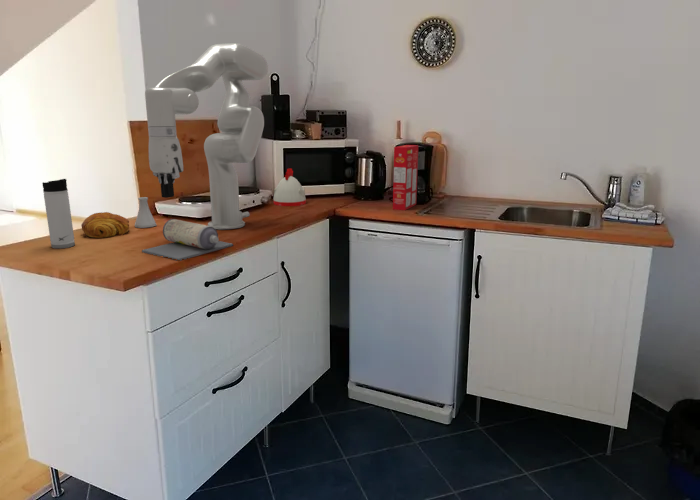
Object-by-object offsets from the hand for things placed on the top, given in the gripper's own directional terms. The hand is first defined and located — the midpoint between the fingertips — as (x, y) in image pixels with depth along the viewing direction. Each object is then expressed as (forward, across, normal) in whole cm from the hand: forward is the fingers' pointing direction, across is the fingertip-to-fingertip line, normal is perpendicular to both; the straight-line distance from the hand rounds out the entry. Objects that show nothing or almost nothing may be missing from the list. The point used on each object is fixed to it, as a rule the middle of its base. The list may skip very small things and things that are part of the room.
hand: (167, 196), depth 157 cm
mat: (+15, -7, 0) cm, 16 cm away
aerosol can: (+11, +2, -2) cm, 11 cm away
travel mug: (+15, +25, +19) cm, 35 cm away
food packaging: (+15, -26, -97) cm, 102 cm away
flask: (+15, +30, -12) cm, 35 cm away
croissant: (+15, +31, +2) cm, 34 cm away
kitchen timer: (+15, +19, -76) cm, 80 cm away
